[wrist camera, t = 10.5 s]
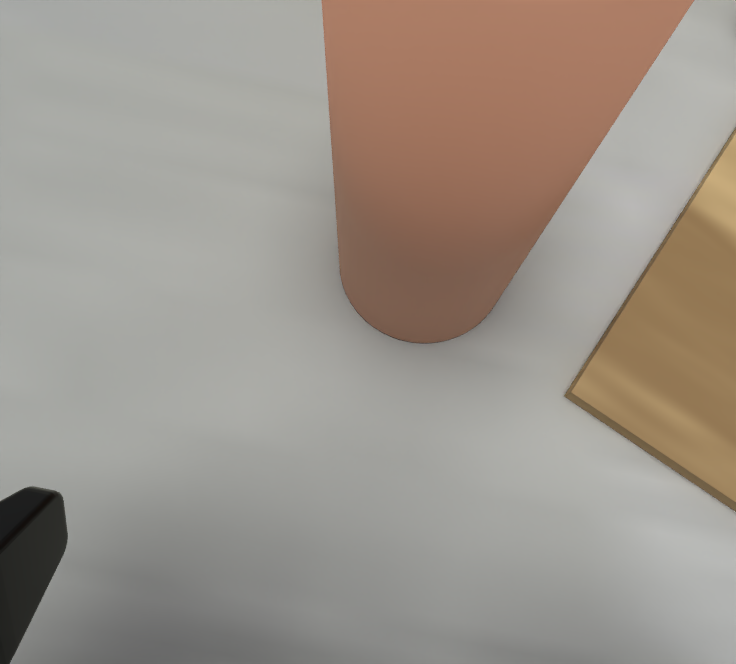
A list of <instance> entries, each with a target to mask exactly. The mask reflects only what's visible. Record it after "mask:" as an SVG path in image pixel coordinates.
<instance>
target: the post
mask: <svg viewBox="0 0 736 664" xmlns="http://www.w3.org/2000/svg"><path fill="white" fill-rule="evenodd" d="M693 1H694V0H322V12H323V27H324V41H325V56H326V71H327V86H328V101H329V115H330V130H331V145H332V160H333V175H334V190H335V204H336V219H337V234H338V249H339V264H340V275H341V280H342V284H343V287H344V290H345V292H346V295H347V296H348V298H349V300H350V302H351V304H352V305H353V307H354V308H355V309H356V311H357V312H358V313H359V314H360V315H361V316H362V317H363V318H364V319H365V320H366V321H367V322H368V323H369V324H371V325H372V326H373V327H375V328H376V329H378V330H379V331H381V332H383V333H385V334H387V335H389V336H391V337H394V338H397V339H400V340H404V341H409V342H415V343H434V342H441V341H446V340H449V339H452V338H455V337H458V336H460V335H462V334H464V333H466V332H468V331H469V330H471V329H472V328H474V327H475V326H477V325H478V324H479V323H480V322H481V321H482V320H483V319H484V318H485V317H486V316H487V315H488V314H489V313H490V311H491V310H492V309H493V307H494V305H495V304H496V302H497V301H498V299H499V298H500V296H501V295H502V293H503V292H504V290H505V289H506V287H507V286H508V284H509V283H510V281H511V279H512V278H513V276H514V275H515V273H516V272H517V270H518V269H519V267H520V266H521V264H522V263H523V261H524V260H525V258H526V257H527V255H528V253H529V252H530V250H531V249H532V247H533V246H534V244H535V243H536V241H537V240H538V238H539V237H540V235H541V234H542V232H543V231H544V229H545V228H546V226H547V224H548V223H549V221H550V220H551V218H552V217H553V215H554V214H555V212H556V211H557V209H558V208H559V206H560V205H561V203H562V202H563V200H564V198H565V197H566V195H567V194H568V192H569V191H570V189H571V188H572V186H573V185H574V183H575V182H576V180H577V179H578V177H579V176H580V174H581V172H582V171H583V169H584V168H585V166H586V165H587V163H588V162H589V160H590V159H591V157H592V156H593V154H594V153H595V151H596V150H597V148H598V146H599V145H600V143H601V142H602V140H603V139H604V137H605V136H606V134H607V133H608V131H609V130H610V128H611V127H612V125H613V124H614V122H615V121H616V119H617V117H618V116H619V114H620V113H621V111H622V110H623V108H624V107H625V105H626V104H627V102H628V101H629V99H630V98H631V96H632V95H633V93H634V91H635V90H636V88H637V87H638V85H639V84H640V82H641V81H642V79H643V78H644V76H645V75H646V73H647V72H648V70H649V69H650V67H651V65H652V64H653V62H654V61H655V59H656V58H657V56H658V55H659V53H660V52H661V50H662V49H663V47H664V46H665V44H666V43H667V41H668V39H669V38H670V36H671V35H672V33H673V32H674V30H675V29H676V27H677V26H678V24H679V23H680V21H681V20H682V18H683V17H684V15H685V14H686V12H687V10H688V9H689V7H690V6H691V4H692V3H693Z"/></svg>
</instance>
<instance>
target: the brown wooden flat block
mask: <svg viewBox="0 0 736 664" xmlns="http://www.w3.org/2000/svg"><path fill="white" fill-rule="evenodd" d="M564 396H565V397H566V398H568V399H569V400H570V401H572V402H573V403H575V404H576V405H578V406H579V407H581V408H582V409H584V410H585V411H587V412H588V413H590V414H591V415H593V416H594V417H596V418H597V419H599V420H600V421H602V422H603V423H605V424H606V425H608V426H609V427H611V428H612V429H614V430H615V431H617V432H618V433H620V434H621V435H623V436H624V437H625V438H627V439H628V440H630V441H631V442H633V443H634V444H636V445H637V446H639V447H640V448H642V449H643V450H645V451H646V452H648V453H649V454H651V455H652V456H654V457H655V458H657V459H658V460H660V461H661V462H663V463H664V464H666V465H667V466H669V467H670V468H672V469H673V470H675V471H676V472H678V473H679V474H680V475H682V476H683V477H685V478H686V479H688V480H689V481H691V482H692V483H694V484H695V485H697V486H698V487H700V488H701V489H703V490H704V491H706V492H707V493H709V494H710V495H712V496H713V497H715V498H716V499H718V500H719V501H721V502H722V503H724V504H725V505H727V506H728V507H730V508H731V509H733V510H734V511H735V512H736V128H735V130H734V131H733V133H732V134H731V136H730V138H729V139H728V141H727V142H726V144H725V145H724V147H723V149H722V150H721V152H720V153H719V155H718V156H717V158H716V159H715V161H714V163H713V164H712V166H711V167H710V169H709V170H708V172H707V174H706V175H705V177H704V178H703V180H702V181H701V183H700V184H699V186H698V188H697V189H696V191H695V192H694V194H693V195H692V197H691V199H690V200H689V202H688V203H687V205H686V206H685V208H684V209H683V211H682V213H681V214H680V216H679V217H678V219H677V220H676V222H675V224H674V225H673V227H672V228H671V230H670V231H669V233H668V234H667V236H666V238H665V239H664V241H663V242H662V244H661V245H660V247H659V249H658V250H657V252H656V253H655V255H654V256H653V258H652V259H651V261H650V263H649V264H648V266H647V267H646V269H645V270H644V272H643V274H642V275H641V277H640V278H639V280H638V281H637V283H636V284H635V286H634V288H633V289H632V291H631V292H630V294H629V295H628V297H627V299H626V300H625V302H624V303H623V305H622V306H621V308H620V309H619V311H618V313H617V314H616V316H615V317H614V319H613V320H612V322H611V324H610V325H609V327H608V328H607V330H606V331H605V333H604V334H603V336H602V338H601V339H600V341H599V342H598V344H597V345H596V347H595V349H594V350H593V352H592V353H591V355H590V356H589V358H588V360H587V361H586V363H585V364H584V366H583V367H582V369H581V370H580V372H579V374H578V375H577V377H576V378H575V380H574V381H573V383H572V385H571V386H570V388H569V389H568V391H567V392H566V394H565V395H564Z"/></svg>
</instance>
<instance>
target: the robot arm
mask: <svg viewBox="0 0 736 664" xmlns="http://www.w3.org/2000/svg"><path fill="white" fill-rule="evenodd" d="M67 539H68V533H67V525H66V516H65V508H64V501H63V497H62V495H61V494H60V493H59V492H57V491H54V490H49V489H44V488H39V487H27V488H24V489H22V490H20V491H18V492H16V493H14V494H12V495H11V496H9V497H7V498H5V499H3V500H2V501H0V664H10V662H11V660H12V658H13V656H14V654H15V652H16V650H17V648H18V646H19V644H20V642H21V640H22V638H23V636H24V634H25V632H26V630H27V628H28V626H29V624H30V622H31V620H32V618H33V616H34V613H35V611H36V609H37V607H38V605H39V603H40V601H41V599H42V597H43V595H44V593H45V591H46V589H47V587H48V585H49V583H50V581H51V579H52V577H53V575H54V573H55V571H56V569H57V567H58V565H59V563H60V560H61V558H62V556H63V554H64V552H65V549H66V545H67Z"/></svg>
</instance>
